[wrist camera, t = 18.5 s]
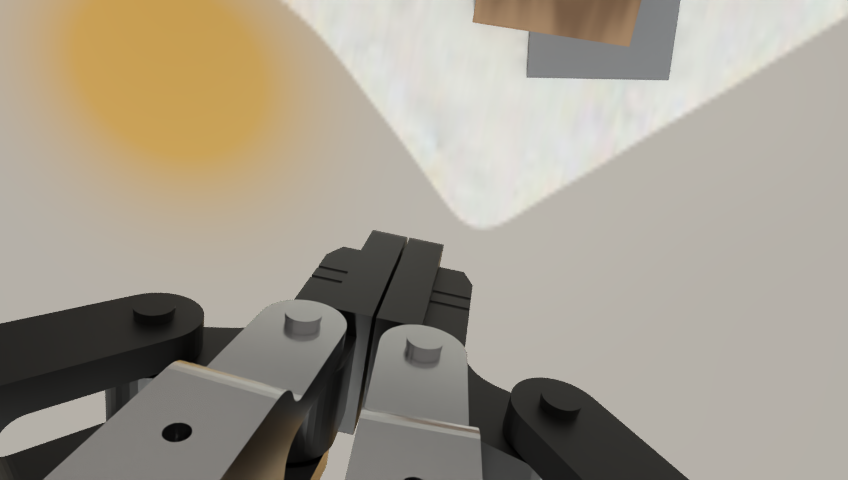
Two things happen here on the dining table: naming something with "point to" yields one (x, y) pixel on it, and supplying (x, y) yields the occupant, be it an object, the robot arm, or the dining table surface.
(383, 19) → the dining table surface
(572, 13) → the walnut slab
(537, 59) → the rubber mat
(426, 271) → the robot arm
